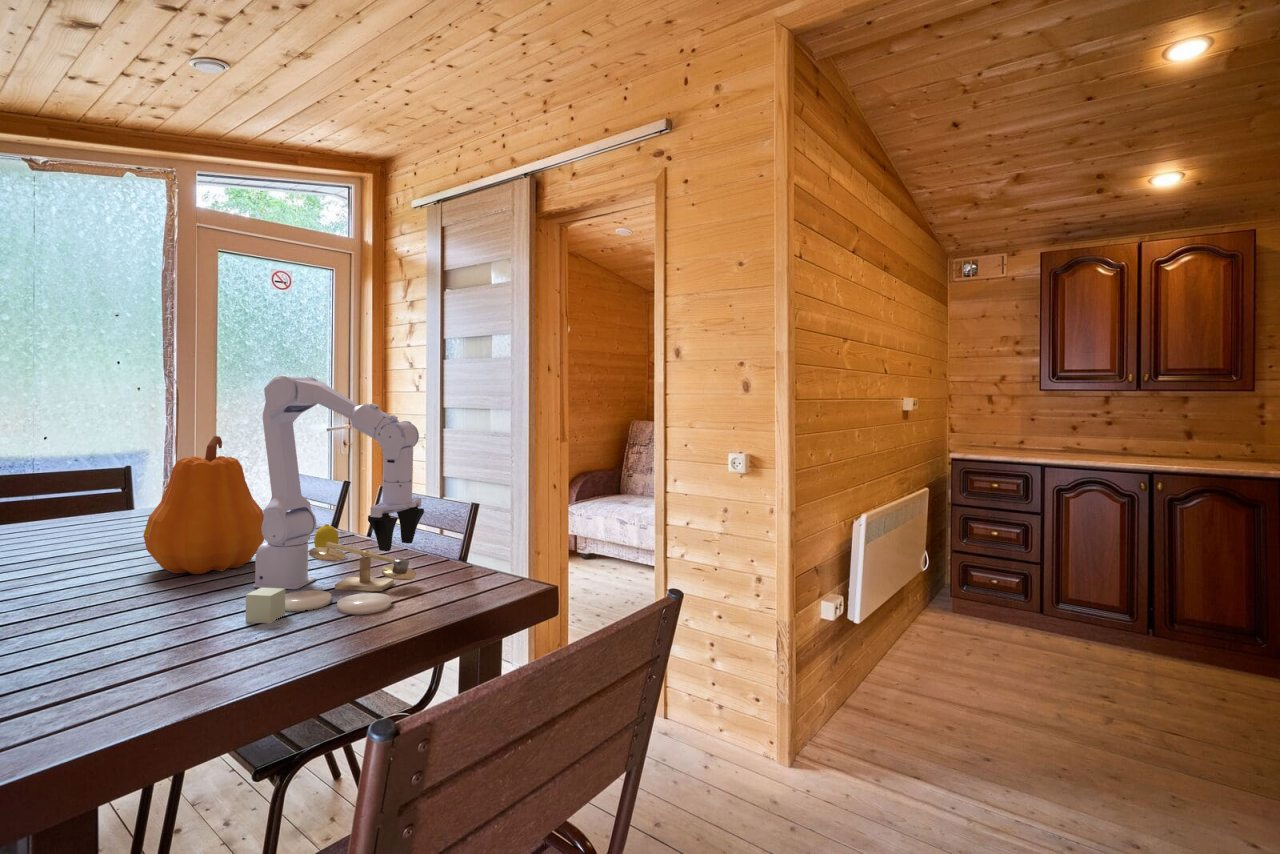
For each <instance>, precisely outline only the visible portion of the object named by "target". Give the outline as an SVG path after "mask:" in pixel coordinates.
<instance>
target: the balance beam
mask: <svg viewBox="0 0 1280 854" xmlns="http://www.w3.org/2000/svg"><path fill="white" fill-rule="evenodd" d="M326 546H328V548H326V547H317V548H316V547H313V548H311V549H310V550H308V556H310V557H311V558H313V559H316V560H319V561H325V562H326V561H327V562H339V561H343V560H345V557H346V553H345V552H347V553H352V554H356V555H359V556H361V557H365V556H366V557H370V558H371V559H374V560H379V561H383V562H387V563H391V564H393V565H387V566H383V567H382V569H381V574H382V575H383V576H385V577H386V578H388V579H394V580H397V581H411V580H414V579H416V577H417V572H416V571H415V570H414V569H412V568H409V565H410V560H409V559H407V558H403V557H396V558H392V557H389V556H385V555H381V554H377V553H373V552H371V551H369V550H362V549H359V548H355V547H350V546H347V545H342V544H339V543H338V544H336V543H332V542H327V543H326ZM330 547H332V548H330ZM333 548H336V549H333Z"/></svg>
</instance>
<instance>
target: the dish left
mask: <svg viewBox="0 0 1280 854" xmlns="http://www.w3.org/2000/svg"><path fill="white" fill-rule="evenodd" d="M331 603H332V594H331V593H330V592H328V591H326V590H317V589H315V590H313V589H312V590H309V589H308V590H299V591H293V592H289V593H285V612H291V611H296V612H306V611H305V610H308V611H312V610H313V609H314V610H317V609H321V608H324V607H327V606H328V605H330V604H331Z"/></svg>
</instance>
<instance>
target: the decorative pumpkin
mask: <svg viewBox="0 0 1280 854" xmlns="http://www.w3.org/2000/svg"><path fill="white" fill-rule="evenodd" d="M222 446H223V441H222V437H221V436H219V435H213V437H212V438H211V439H210V440H209V442H208V444H207V445H206V451H205V457H204V458H202V457H200V456H197V455H196V456H190V457H183V458H181V459H179V460H177V461H176V463H175V464H174V466H173V467H172V469H171V473H170V478H169V481H168V484H167V486H166V489H165V492H164V493H163V496H162V498H161V500H160V502H159V503H158V505H157V506H156V508H154V510H153V511H152V512H151V513H150V514H149V516H148V519H147V522H146V525H145V530H144V532H143V540H144V544H145V547H146V548H145V549H146V551H147V552H148V553H149V555H150V556H151V557H152V558H153V559H154V560H155V562H156V563H157V564H158V565H160V567H161V568H163V569H164V570H166V571H169V572H171V573H173V574H186V573H185V572H187V573H189V574H192V575H203V574H205V573H208V572H211V571H213V570H214V571H216V570H217V572H224V571H226V569H236V568H237V569H238V568H240V567H242V566H244V565H245V564H247V563H248V562H250V561H252V559H253V557H254V556H256V553H257V550H258V548H259V546H260V545H261V544H262V543H264V542H265V539H264V537H263V535H262V531H261V527H262V523H263V519H264V513H263V509H262V508H261V507H260V506H259V504H258V503H257V502H256V500H255V499H254V498H253V496H252V493H251V491H250V488H249V486H248V483H247V482H246V478H245V472H244V469H243V466H242V465H241V463H240V461H239V460H238V459H237V458H235V457H232V456H227V457H226V456H223V455H218V456H217V452H218V451H217V450H218V449H222V448H223V447H222Z"/></svg>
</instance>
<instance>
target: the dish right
mask: <svg viewBox="0 0 1280 854" xmlns="http://www.w3.org/2000/svg"><path fill="white" fill-rule="evenodd" d="M336 603H337V604H336V605H337V609H336V610H337V611H338V612H339V613H341V614H345V615H346V614H347V615H353V616H354V615H355V616H356V615H369V614H375V613H380V612H383V611H385V610H387V609H389V608H390V607H391V606H392V596H390V595H388V594H386V593H385V594H384V593H380V592H379V593H378V592H363V593H356V594H352V595H351V594H350V595H347V596H344V597H342V598H340V599H339V600H337V602H336Z"/></svg>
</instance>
